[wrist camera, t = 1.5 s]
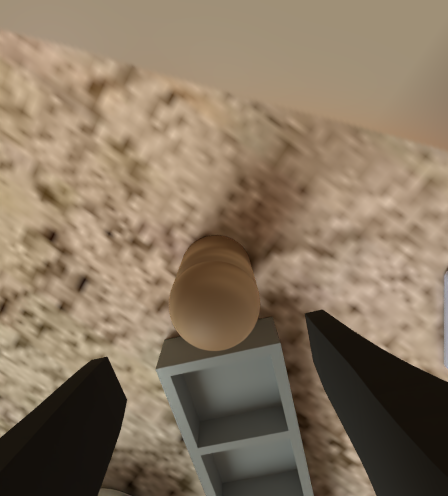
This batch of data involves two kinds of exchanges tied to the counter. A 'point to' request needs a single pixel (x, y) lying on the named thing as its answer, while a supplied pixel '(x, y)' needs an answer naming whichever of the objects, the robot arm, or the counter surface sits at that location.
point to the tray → (237, 415)
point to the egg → (214, 294)
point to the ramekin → (111, 492)
